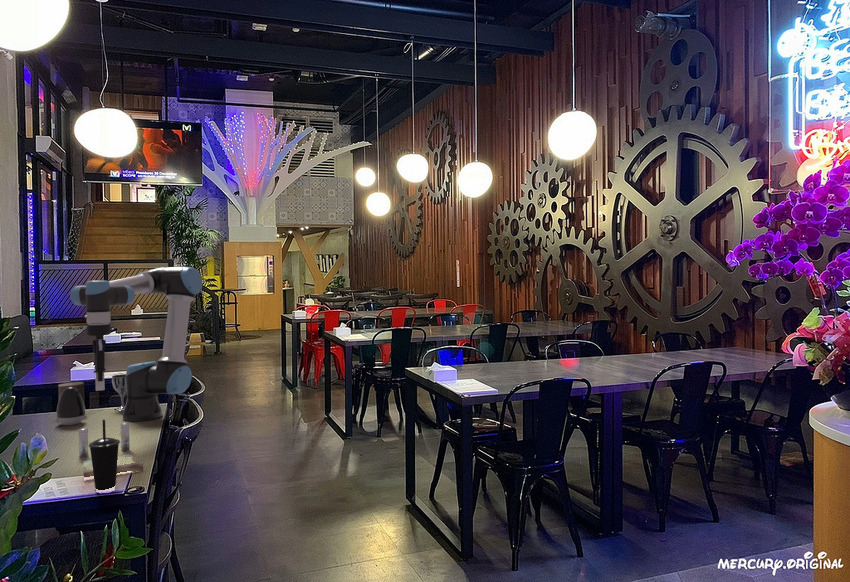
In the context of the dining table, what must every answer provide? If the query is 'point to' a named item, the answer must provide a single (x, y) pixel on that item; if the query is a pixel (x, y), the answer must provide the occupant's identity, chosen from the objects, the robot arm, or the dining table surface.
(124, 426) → the post
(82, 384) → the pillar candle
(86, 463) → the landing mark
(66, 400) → the black tapered dome
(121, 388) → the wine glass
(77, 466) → the dining table surface
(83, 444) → the post
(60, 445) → the dining table surface
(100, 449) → the drinking cup
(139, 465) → the stopper wall
